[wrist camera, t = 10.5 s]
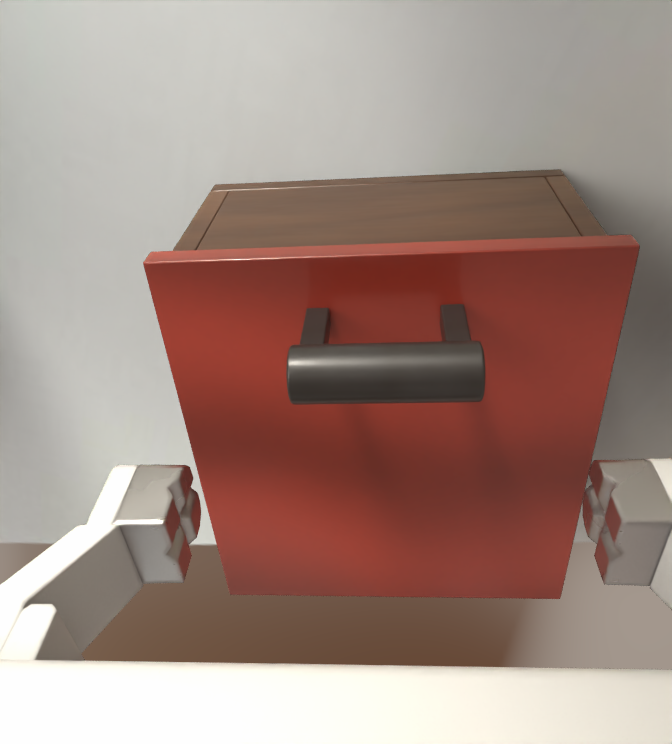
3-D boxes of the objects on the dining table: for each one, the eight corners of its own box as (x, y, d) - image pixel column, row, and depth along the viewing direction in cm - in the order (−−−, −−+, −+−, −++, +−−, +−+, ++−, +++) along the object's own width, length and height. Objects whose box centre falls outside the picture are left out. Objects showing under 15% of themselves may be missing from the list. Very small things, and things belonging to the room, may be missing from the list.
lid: (150, 250, 19) (93, 330, 15) (631, 233, 18) (697, 315, 14) (233, 579, 28) (210, 679, 25) (556, 583, 27) (584, 688, 23)
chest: (214, 184, 26) (156, 274, 20) (561, 168, 25) (626, 259, 18) (262, 452, 35) (233, 578, 28) (521, 450, 34) (556, 582, 27)
